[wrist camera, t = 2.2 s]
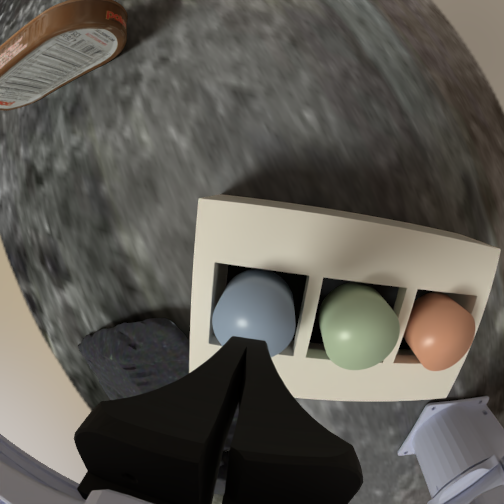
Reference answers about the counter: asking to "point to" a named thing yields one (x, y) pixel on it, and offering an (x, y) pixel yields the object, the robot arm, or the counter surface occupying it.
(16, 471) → the robot arm
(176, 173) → the counter surface
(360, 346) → the sage green button
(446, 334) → the terracotta button
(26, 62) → the tin
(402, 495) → the counter surface
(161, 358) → the black fabric pouch
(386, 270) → the button console
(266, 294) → the slate blue button
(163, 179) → the counter surface
